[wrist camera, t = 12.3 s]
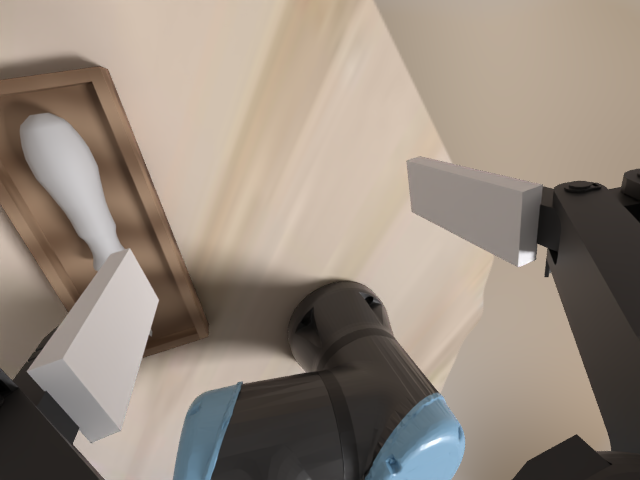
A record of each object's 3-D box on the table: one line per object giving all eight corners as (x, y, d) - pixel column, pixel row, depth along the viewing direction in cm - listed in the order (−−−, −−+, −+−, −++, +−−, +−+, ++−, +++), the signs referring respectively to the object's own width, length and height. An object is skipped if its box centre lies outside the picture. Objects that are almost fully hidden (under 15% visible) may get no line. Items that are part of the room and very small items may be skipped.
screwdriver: (139, 326, 40) (123, 353, 36) (28, 115, 28) (-13, 121, 24) (177, 321, 40) (165, 346, 36) (82, 107, 28) (50, 112, 24)
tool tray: (208, 324, 42) (208, 336, 39) (110, 355, 39) (104, 370, 37) (107, 69, 29) (99, 66, 27) (-48, 91, 26) (-72, 89, 24)
